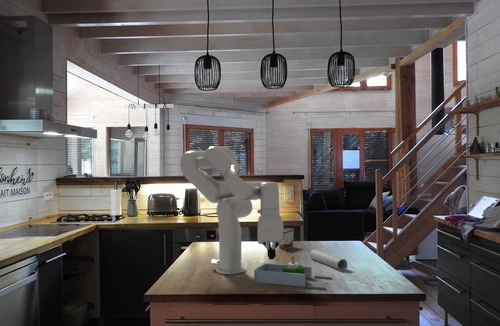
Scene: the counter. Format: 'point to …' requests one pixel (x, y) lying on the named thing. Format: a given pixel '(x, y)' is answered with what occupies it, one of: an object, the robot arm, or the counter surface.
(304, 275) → the pale blue tray
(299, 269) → the candle
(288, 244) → the food container
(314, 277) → the strips
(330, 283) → the counter surface
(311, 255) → the tube
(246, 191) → the robot arm
